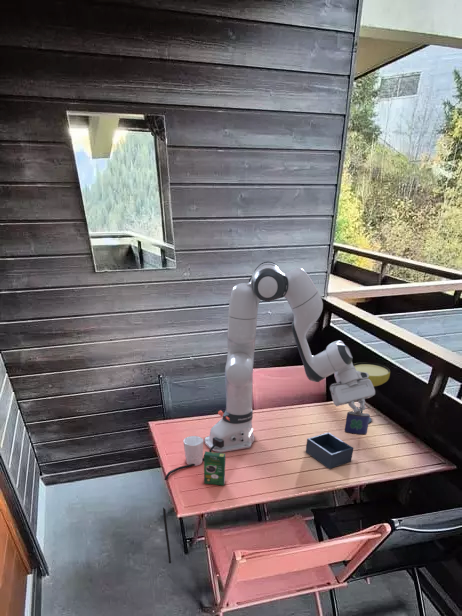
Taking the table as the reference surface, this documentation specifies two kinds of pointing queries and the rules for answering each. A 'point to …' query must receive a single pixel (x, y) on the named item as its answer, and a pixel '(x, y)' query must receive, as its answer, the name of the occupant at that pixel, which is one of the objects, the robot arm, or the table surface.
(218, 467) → the coffee box
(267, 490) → the table surface
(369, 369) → the cocktail glass
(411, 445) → the table surface
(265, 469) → the table surface
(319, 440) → the tub
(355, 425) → the flask
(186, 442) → the white cup
